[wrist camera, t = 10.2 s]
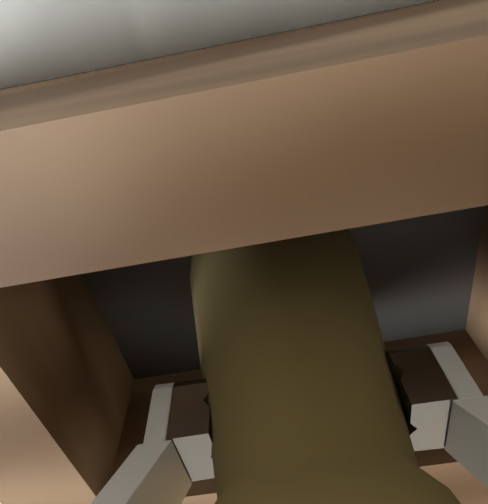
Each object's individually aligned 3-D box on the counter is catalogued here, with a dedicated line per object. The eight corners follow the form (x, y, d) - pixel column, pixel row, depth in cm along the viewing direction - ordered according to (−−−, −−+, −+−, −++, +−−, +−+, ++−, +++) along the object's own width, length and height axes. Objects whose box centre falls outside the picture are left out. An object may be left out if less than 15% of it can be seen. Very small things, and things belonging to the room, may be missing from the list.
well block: (-101, 110, 12) (-310, 192, 7) (635, -40, 10) (957, -58, 6) (95, 424, 20) (55, 557, 15) (522, 363, 19) (620, 488, 14)
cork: (213, 177, 13) (202, 704, 3) (389, 221, 14) (737, 700, 5) (173, 322, 16) (112, 805, 6) (321, 348, 17) (446, 787, 8)
